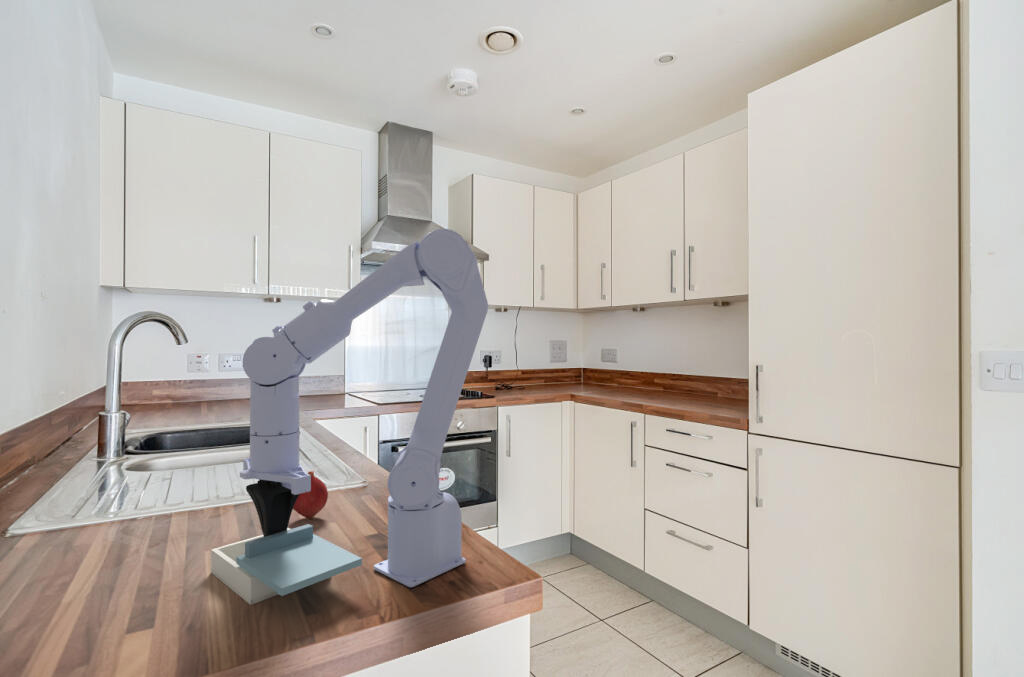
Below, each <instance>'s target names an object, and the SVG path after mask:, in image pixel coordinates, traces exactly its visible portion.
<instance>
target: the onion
mask: <svg viewBox="0 0 1024 677" xmlns="http://www.w3.org/2000/svg"><path fill="white" fill-rule="evenodd" d="M307 474H309V475H311V491H309V492H305V493H301V494H300V495H299V496H298V498H297V500H296V502H295V504H294V507H293V510H294V511H295V512H296V513H297V514H298V515H299V516H302V517H304V518H305V519H308V520H310V519H311V520H312V519H313V518H314V517H315V516H316V515H317V514H319V512H320V511H321V510H323V508H325V506H326V504H327V502H328V497H329V492H328V488H327V485H326V484H325V483H324V482H323V481H322V480H321V479H320V478H318V477H316V476H315V473H314V470H310V471H308V473H307Z"/></svg>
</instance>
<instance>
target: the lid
mask: <svg viewBox="0 0 1024 677" xmlns="http://www.w3.org/2000/svg"><path fill="white" fill-rule="evenodd" d="M237 564H238V565H239V566H240V567H242V568H243V569H245V570H246V571H247V572H249V573H250V574H252V575H253V576H254V577H256V578H257V579H258V580H260V581H261V582H263V583H264V584H265V585H267V586H268V587H270V588H271V589H272V590H274V591H275V592H277V593H278V595H279V596H281V597H283V596H287V595H288V594H291V593H293V592H296V591H298V590H302V589H304V588H306V587H308V586H312V585H314V584H316V583H319V582H322V581H324V580H327V579H330V578H333V577H334V576H338V575H340V574H341V573H342V574H343V573H345V572H347V571H349V570H350V571H351V570H352V569H354V568H355V569H356V568H358V567H360V566H362V565H363V558H362V557H360V556H358V555H356V554H354V553H352V552H350V551H349V550H346V549H344V548H343V547H340V546H339V545H336V544H335V543H332V542H331V541H328V540H327V539H324V538H323V537H320V536H318V535H317V534H314V525H313V524H309V523H307V524H304V525H301V526H297V527H294V528H290V530H286V531H283V532H279V533H276V534H272V535H269V536H266V537H262V538H259V539H255V540H252V541H248V542H245V555H242V556H238V557H237Z"/></svg>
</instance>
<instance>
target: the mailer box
mask: <svg viewBox="0 0 1024 677" xmlns="http://www.w3.org/2000/svg"><path fill="white" fill-rule="evenodd" d="M290 529H291V528H290V527H288V528H287V530H290ZM262 537H264V536H263V534H261V535H258V536H253V537H250V538H245V539H243V540H240V541H236V542H233V543H229V544H226V545H223V546H219V547H215V548H212V549H210V560H211V561H210V574H212V575H213V576H215V577H216V578H217V580H220V582H221V583H223V584H224V585H226V586H227V587H228V588H229V589H230V590H232V591H233V592H234V593H236V594H237V595H238V596H239V597H240V598H242V599H243V600H244V601H245V602H246V603H247V604H249V605H251V606H252V605H254V604H257V603H260V602H262V601H265V600H268V599H270V598H273V597H275V596H278V595H279V594H278V593H277V592H275V591H274V590H272V589H271V588H270V587H268V586H267V585H265V584H264V583H263V582H261V581H260V580H258V579H257V578H256V577H254V576H253V575H252V574H250V573H249V572H247V571H246V570H245V569H243V568H242V567H240V566H239V565H238V564H237V557H238V556H242V555H245V542H248V541H252V540H255V539H259V538H262Z"/></svg>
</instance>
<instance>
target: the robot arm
mask: <svg viewBox="0 0 1024 677" xmlns="http://www.w3.org/2000/svg"><path fill="white" fill-rule="evenodd" d="M479 270H480V269H479V266H478V260H477V257H476V254H475V253H474V252H473V250H472V248H471V247H470V246H469V244H468V243H467V241H466V240H465V239H464V237H463V236H462V235H461V234H460V233H459V232H457V231H455V230H452V229H451V228H450V229H449V228H438V229H433V230H431V231H430V232H428V233H427V234H425V236H423V238H422V239H421V240H420V242H419V240H415V241H413V242H411V243H410V244H408V245H407V246H405V247H404V248H403V249H401V250H400V251H398V252H397V253H395V254H394V255H393V256H391V258H389V259H387V260H386V261H385V262H384V263H383V264H382V265H380V266H378V267H377V268H376V269H374V271H373V272H371V273H370V274H369V275H368V276H366V277H365V278H364V279H363V280H361V281H360V282H358V283H357V284H356V285H355V286H353V287H352V288H351V289H350V290H348V291H347V292H346V293H345V294H343V295H342V296H340V297H339V298H338V299H337V300H330V299H319V300H318V301H317V302H314V301H308V302H307V303H305V304H304V305H302V310H304V311H303V312H301V313H300V314H298V315H297V316H296V317H294V318H292V320H289V322H288V323H286V324H285V325H283V326H281V325H276V326H275V327H274V328H272V331H271V332H272V333H273V336H262V337H258V338H256V339H254V340H253V341H252V343H251V344H250V345H249V346H248V347H247V348H246V350H245V352H244V354H243V356H242V368H243V371H244V372H245V374H246V376H247V377H248V378H249V379H250V384H249V386H250V394H249V395H250V397H249V457H248V458H243V464H242V466H243V470H240V472H239V478H241V479H244V480H253V479H255V480H257V482H256V483H255V482H254V483H250V484H247V485H246V487H245V490H246V492H247V494H248V495H249V497H250V499H251V501H252V502H253V505H254V507H255V510H256V512H257V515H258V520H259V524H260V529H261V532H262V535H263V536H264V537H266V536H269V535H272V534H276V533H279V532H283V531H286V530H287V528H289V523H290V520H291V516H292V512H293V510H294V509H293V507H294V504H295V502H296V500H297V498H298V496H299V495H300V494H301V493H305V492H309V491H311V475H309V474H308V473H307V472H306V471H305V469H304V467H303V466H302V463H300V392H299V391H300V390H299V389H300V384H299V382H300V375H301V374H303V372H304V370H305V367H306V364H307V365H308V364H311V363H314V361H316V360H317V359H318V358H320V357H321V356H323V355H324V354H325V353H327V352H328V351H330V350H331V349H332V348H334V347H335V346H337V345H338V344H339V343H341V342H342V341H344V339H346V338H347V337H348V336H350V334H351V329H352V323H353V322H354V320H355V319H356V318H358V317H359V316H361V315H363V314H364V313H365V312H367V311H368V310H370V309H371V308H373V307H375V306H376V305H378V304H379V303H380V302H382V301H384V300H385V299H386V298H388V297H389V296H391V295H392V294H394V293H396V292H398V290H400V289H401V288H404V287H417V286H425V282H424V278H427V280H428V281H430V282H431V284H433V286H435V287H436V288H437V289H438V290H439V291H440V292H441V294H442V295H441V296H443V299H444V300H445V302H446V304H447V305H448V307H449V309H450V311H451V313H450V317H449V319H448V323H447V325H446V329H445V332H444V335H443V338H442V341H441V344H440V346H439V350H438V353H437V356H436V358H435V360H434V361H435V362H434V365H433V367H432V368H433V369H432V371H431V373H430V377H429V381H428V383H427V385H426V387H425V388H426V389H425V392H424V395H423V398H422V402H421V404H420V407H419V410H418V413H417V417H416V419H415V422H414V425H413V428H412V432H411V434H410V436H409V439H408V443H407V445H406V446H405V447H404V448H403V449H401V450H400V452H399V453H398V454H397V457H396V459H395V464H394V465H393V467H392V469H391V470H390V472H389V474H388V478H387V490H388V494H389V496H388V497H387V559H385V560H383V561H380V562H378V563H375V564H374V565H373V569H374V570H375V571H377V572H379V573H381V574H382V575H384V576H387V577H389V578H390V579H392V580H394V581H395V582H398V583H400V584H402V585H404V586H406V587H407V588H413V587H416V586H418V585H421V584H422V583H424V582H427V581H429V580H431V579H433V578H435V577H437V576H440V575H441V574H444V573H446V572H448V571H450V570H452V569H455V568H456V567H459V566H461V565H463V564H465V563H466V561H467V560H466V557H463V556H462V532H463V531H462V530H463V528H462V522H463V521H462V517H463V516H462V511H461V507H460V504H459V503H458V502H459V501H458V500H457V499H456V498H455V497H454V496H453V495H452V494H450V493H449V492H443V491H441V490H440V488H439V487H440V473H441V468H442V461H441V457H442V454H443V450H444V447H445V442H446V439H447V435H448V433H449V430H450V426H451V424H452V420H453V418H454V415H455V411H456V407H457V405H458V402H459V399H460V395H461V392H462V390H463V387H464V384H465V381H466V378H467V374H468V372H469V368H470V365H471V363H472V359H473V356H474V354H475V350H476V348H477V344H478V341H479V338H480V336H481V332H482V329H483V326H484V323H485V320H486V318H487V314H488V310H489V302H488V299H487V295H486V292H485V288H484V284H483V281H482V277H481V274H480V271H479Z"/></svg>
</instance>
